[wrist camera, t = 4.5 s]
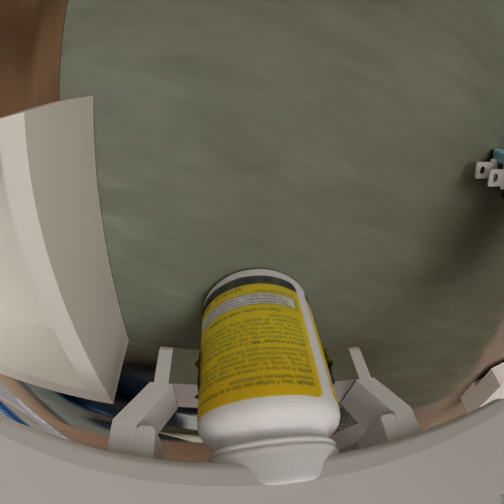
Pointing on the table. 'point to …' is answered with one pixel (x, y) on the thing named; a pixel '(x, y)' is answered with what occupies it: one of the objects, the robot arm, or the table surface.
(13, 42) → the walnut step
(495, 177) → the push button
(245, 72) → the table surface
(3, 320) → the grey tray
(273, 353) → the supplement bottle
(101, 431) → the table surface
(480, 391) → the bracket
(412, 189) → the table surface
